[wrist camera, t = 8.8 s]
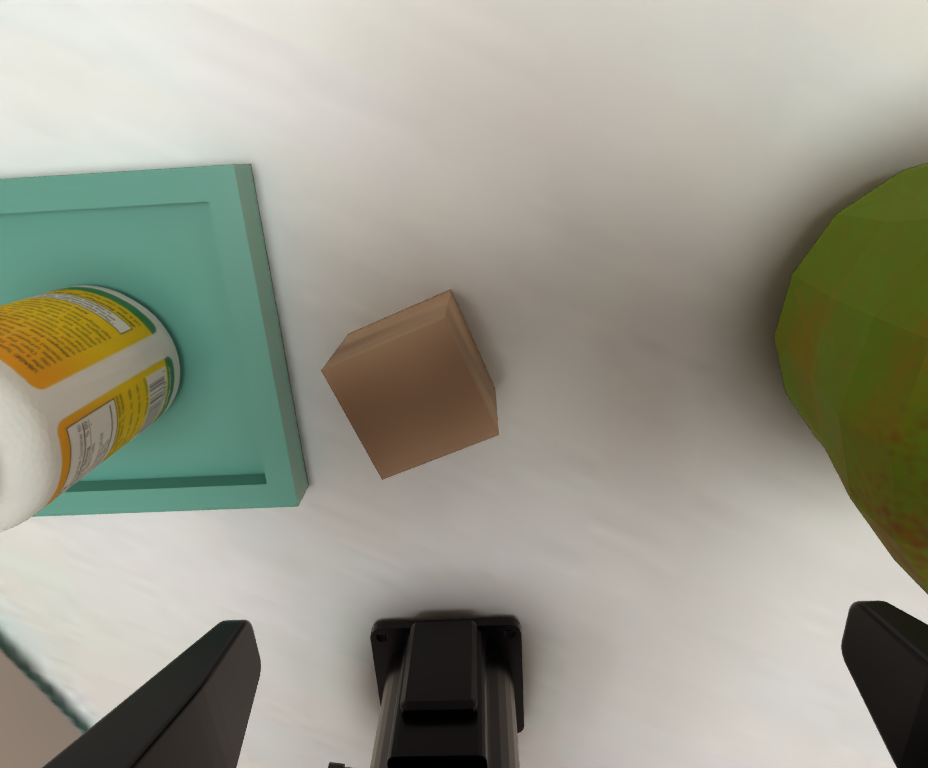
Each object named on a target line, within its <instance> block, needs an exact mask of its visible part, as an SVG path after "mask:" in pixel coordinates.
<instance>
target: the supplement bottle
mask: <svg viewBox="0 0 928 768" xmlns="http://www.w3.org/2000/svg"><path fill="white" fill-rule="evenodd" d="M179 381H180V363H179V357H178V353H177V350H176V347H175V345H174V342H173V340H172V338H171V337H170V335H169V333H168V332H167V330H166V329H165V327H164V326H163V324H162V323H161V322H160V321H159V320H158V319H157V317H156V316H155V315H154V314H152V313H151V312H150V311H149V310H147V309H146V308H145V307H143V306H142V305H140V304H139V303H138V302H136V301H134V300H133V299H131V298H129V297H127V296H125V295H123V294H121V293H119V292H117V291H114V290H111V289H108V288H103V287H98V286H89V285H81V286H71V287H66V288H62V289H57V290H53V291H50V292H47V293H43V294H40V295H36V296H33V297H29V298H25V299H22V300H19V301H15V302H12V303H8V304H5V305H1V306H0V532H1V531H4V530H7V529H10V528H12V527H14V526H17V525H19V524H21V523H22V522H24V521H26V520H28V519H29V518H31V517H32V516H33V515H35V514H36V513H38V512H39V511H40V510H42V509H43V508H44V507H46V506H47V505H48V504H50V503H51V502H53V501H54V500H55V499H56V498H57V497H59V496H60V495H61V494H62V493H64V492H65V491H66V490H68V489H69V488H70V487H71V486H73V485H74V484H75V483H77V482H78V481H79V480H81V479H82V478H83V477H84V476H86V475H87V474H88V473H89V472H91V471H92V470H93V469H95V468H96V467H97V466H98V465H100V464H101V463H102V462H104V461H105V460H106V459H107V458H109V457H110V456H111V455H113V454H114V453H115V452H116V451H118V450H119V449H120V448H122V447H123V446H124V445H125V444H127V443H128V442H130V441H131V440H132V439H134V438H135V437H136V436H137V435H139V434H140V433H141V432H142V431H144V430H145V429H146V428H148V427H149V426H150V425H151V424H152V423H154V422H155V421H156V420H157V419H158V418H159V417H161V416H162V415H163V414H164V413H165V412H166V410H167V409H168V408H169V407H170V405H171V403H172V402H173V400H174V398H175V396H176V393H177V390H178V387H179Z"/></svg>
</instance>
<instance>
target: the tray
mask: <svg viewBox="0 0 928 768" xmlns="http://www.w3.org/2000/svg"><path fill="white" fill-rule="evenodd" d="M81 285H89V286H98V287H103V288H108V289H111V290H114V291H117V292H119V293H121V294H123V295H125V296H127V297H129V298H131V299H133V300H134V301H136V302H138V303H139V304H140V305H142V306H143V307H145V308H146V309H147V310H149V311H150V312H151V313H152V314H154V315H155V316H156V317H157V319H158V320H159V321H160V322H161V323H162V324H163V326H164V327H165V329H166V330H167V332H168V333H169V335H170V337H171V338H172V340H173V342H174V345H175V347H176V350H177V353H178V357H179V363H180V381H179V387H178V390H177V393H176V396H175V398H174V400H173V402H172V403H171V405H170V407H169V408H168V409H167V410H166V412H165V413H164V414H163V415H162V416H161V417H159V418H158V419H157V420H156V421H155V422H154V423H152V424H151V425H150V426H149V427H148V428H146V429H145V430H144V431H142V432H141V433H140V434H139V435H137V436H136V437H135V438H134V439H132V440H131V441H130V442H128V443H127V444H125V445H124V446H123V447H122V448H120V449H119V450H118V451H116V452H115V453H114V454H113V455H111V456H110V457H109V458H107V459H106V460H105V461H104V462H102V463H101V464H100V465H98V466H97V467H96V468H95V469H93V470H92V471H91V472H89V473H88V474H87V475H86V476H84V477H83V478H82V479H81V480H79V481H78V482H77V483H75V484H74V485H73V486H71V487H70V488H69V489H68V490H66V491H65V492H64V493H62V494H61V495H60V496H59V497H57V498H56V499H55V500H54V501H53V502H51V503H50V504H48V505H47V506H46V507H44V508H43V509H42V510H40V511H39V512H38V513H36V514H35V515H33V516H32V517H35V516H61V515H87V514H113V513H139V512H165V511H191V510H217V509H243V508H269V507H295V506H298V505H299V504H300V502H301V500H302V498H303V496H304V494H305V492H306V490H307V488H308V483H307V477H306V471H305V466H304V460H303V455H302V449H301V443H300V438H299V432H298V427H297V421H296V416H295V410H294V404H293V399H292V393H291V388H290V382H289V376H288V371H287V365H286V360H285V354H284V348H283V343H282V337H281V332H280V326H279V320H278V315H277V309H276V304H275V298H274V292H273V287H272V281H271V276H270V270H269V264H268V259H267V253H266V248H265V242H264V236H263V231H262V225H261V220H260V214H259V208H258V203H257V197H256V192H255V186H254V181H253V175H252V169H251V164H234V165H218V166H202V167H186V168H170V169H154V170H138V171H123V172H107V173H91V174H75V175H59V176H43V177H27V178H11V179H0V306H1V305H5V304H8V303H12V302H15V301H19V300H22V299H25V298H29V297H33V296H36V295H40V294H43V293H47V292H50V291H53V290H57V289H62V288H66V287H71V286H81Z"/></svg>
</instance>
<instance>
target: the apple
mask: <svg viewBox="0 0 928 768" xmlns="http://www.w3.org/2000/svg"><path fill="white" fill-rule="evenodd" d="M774 340H775V345H776V350H777V354H778V359H779V364H780V368H781V373H782V378H783V383H784V387H785V392H786V394H787V396H788V397H789V399H790V400H791V402H792V403H793V404H794V406H795V407H796V409H797V410H798V412H799V413H800V415H801V416H802V418H803V419H804V421H805V422H806V424H807V425H808V427H809V428H810V430H811V431H812V433H813V434H814V436H815V437H816V438H817V439H818V440H819V442H820V443H821V444H822V445H823V447H824V448H825V449H826V451H827V453H828V455H829V457H830V459H831V461H832V463H833V465H834V467H835V469H836V471H837V473H838V475H839V477H840V479H841V481H842V483H843V485H844V487H845V489H846V491H847V493H848V495H849V497H850V499H851V500H852V501H853V503H854V504H855V506H856V507H857V508H858V510H859V511H860V513H861V514H862V515H863V517H864V518H865V520H866V521H867V522H868V524H869V525H870V527H871V528H872V529H873V531H874V532H875V534H876V535H877V536H878V538H879V539H880V541H881V542H882V543H883V545H884V546H885V548H886V549H887V550H888V552H889V553H890V555H891V556H892V557H893V559H894V560H895V561H896V562H897V563H898V564H899V565H900V566H901V567H902V568H903V569H904V570H905V571H906V572H907V573H908V575H909V576H910V577H911V578H912V579H913V580H914V581H915V582H916V583H917V584H918V585H919V586H920V587H921V588H922V589H923V590H924V591H925V592H926V593H927V594H928V163H927V164H923V165H920V166H917V167H913V168H910V169H906V170H903V171H901V172H900V173H898V174H897V175H895V176H894V177H892V178H891V179H889V180H888V181H886V182H884V183H883V184H881V185H880V186H878V187H877V188H875V189H874V190H872V191H871V192H869V193H868V194H866V195H865V196H863V197H862V198H860V199H858V200H857V201H855V202H854V203H852V204H851V205H849V206H848V207H846V208H845V209H843V210H842V211H840V212H839V213H837V214H836V215H835V217H834V218H833V219H832V221H831V222H830V223H829V225H828V226H827V228H826V229H825V230H824V232H823V233H822V234H821V236H820V237H819V238H818V240H817V241H816V243H815V244H814V245H813V247H812V248H811V249H810V251H809V252H808V253H807V255H806V256H805V258H804V259H803V260H802V262H801V263H800V264H799V266H798V267H797V268H796V270H795V271H794V273H793V274H792V277H791V280H790V284H789V287H788V291H787V294H786V298H785V301H784V305H783V308H782V311H781V315H780V318H779V322H778V325H777V329H776V332H775V336H774Z"/></svg>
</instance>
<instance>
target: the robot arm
mask: <svg viewBox="0 0 928 768" xmlns="http://www.w3.org/2000/svg"><path fill="white" fill-rule="evenodd" d="M508 629H511V630H513V631H510V632H509V631H506V630H508ZM379 633H384V634H386V635H381V634H379ZM371 645H372V652H373V658H374V665H375V672H376V678H377V685H378V691H379V698H380V705H381V709H380V715H379V721H378V726H377V732H376V738H375V744H374V749H373V755H372V761H371V766H370V768H520V765H519V750H518V736H517V733H519V732H521V731H522V730H523V728H524V710H523V675H522V640H521V626H520V623H519V622H518V621H517V620H515V619H513V618H489V619H456V620H422V621H389V622H378V623H376V624H375V625H374V626H373V627H372V632H371ZM841 649H842V655H843V658H844V661H845V663H846V665H847V668H848V670H849V672H850V674H851V676H852V678H853V680H854V682H855V684H856V686H857V688H858V690H859V692H860V694H861V696H862V698H863V700H864V702H865V704H866V706H867V709H868V711H869V713H870V715H871V717H872V719H873V721H874V723H875V725H876V727H877V729H878V731H879V733H880V735H881V737H882V739H883V741H884V743H885V745H886V747H887V749H888V752H889V753H890V755H891V757H892V759H893V761H894V763H895V765H896V767H897V768H928V625H927V624H925V623H924V622H922V621H920V620H918V619H916V618H914V617H913V616H911V615H909V614H907V613H905V612H904V611H902V610H900V609H898V608H896V607H895V606H893V605H891V604H889V603H887V602H884V601H857V602H854V603H853V604H852V605H851V606H850V609H849V612H848V617H847V621H846V625H845V630H844V634H843V638H842V644H841ZM260 671H261V661H260V656H259V652H258V648H257V643H256V639H255V635H254V631H253V627H252V625H251V623H250V622H249V621H247V620H226V621H222V622H220V623H219V624H217V625H216V626H215V627H213V628H212V629H211V630H210V631H209V632H207V633H206V634H205V635H204V636H202V637H201V638H200V639H199V640H198V641H196V642H195V643H194V644H193V645H191V646H190V647H189V648H188V649H187V650H185V651H184V652H183V653H182V654H180V655H179V656H178V657H177V658H176V659H174V660H173V661H172V662H171V663H169V664H168V665H167V666H166V667H165V668H163V669H162V670H161V671H160V672H158V673H157V674H156V675H155V676H154V677H152V678H151V679H150V680H149V681H147V682H146V683H145V684H144V685H143V686H141V687H140V688H139V689H138V690H136V691H135V692H134V693H133V694H132V695H130V696H129V697H128V698H127V699H125V700H124V701H123V702H122V703H121V704H119V705H118V706H117V707H116V708H114V709H113V710H112V711H111V712H110V713H108V714H107V715H106V716H105V717H103V718H102V719H101V720H100V721H99V722H97V723H96V724H95V725H94V726H92V727H91V728H90V729H89V730H88V731H86V732H85V733H84V734H83V735H81V736H80V737H79V738H78V739H77V740H75V741H74V742H73V743H72V744H71V745H69V746H68V747H67V748H66V749H64V750H63V751H62V752H61V753H59V754H58V755H57V756H56V757H55V758H53V759H52V760H51V761H50V762H48V763H47V764H46V765H45V766H44V767H42V768H236V766H237V763H238V759H239V755H240V751H241V747H242V743H243V739H244V735H245V732H246V728H247V724H248V720H249V716H250V712H251V708H252V704H253V701H254V697H255V693H256V689H257V685H258V681H259V677H260ZM328 768H350V767H345V764H341V763H333V762H330V763H329V766H328Z"/></svg>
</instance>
